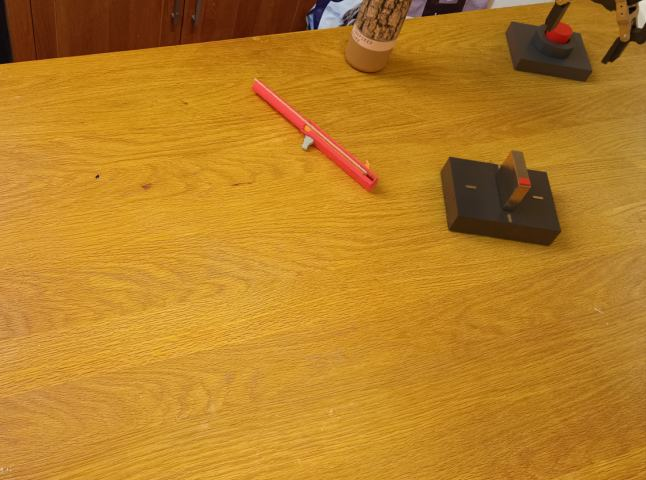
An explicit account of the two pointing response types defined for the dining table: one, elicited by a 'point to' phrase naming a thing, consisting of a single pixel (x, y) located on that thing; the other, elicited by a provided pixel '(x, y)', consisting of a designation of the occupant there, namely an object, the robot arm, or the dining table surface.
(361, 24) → the paper tube
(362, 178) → the red grooved bar
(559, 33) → the button
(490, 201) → the panel
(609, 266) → the dining table surface
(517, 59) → the button box
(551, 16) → the robot arm
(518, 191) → the dial knob
